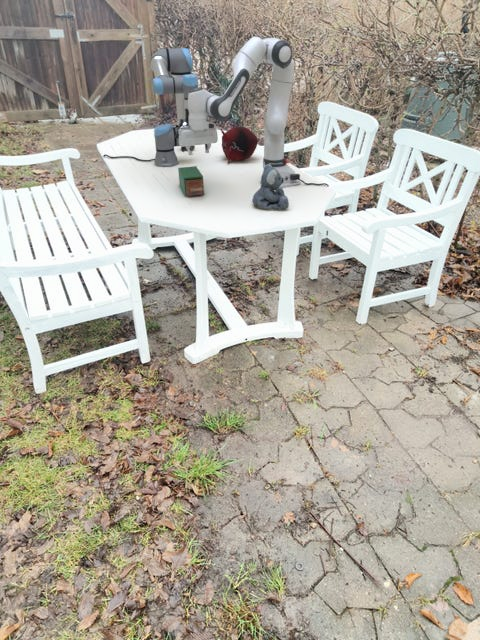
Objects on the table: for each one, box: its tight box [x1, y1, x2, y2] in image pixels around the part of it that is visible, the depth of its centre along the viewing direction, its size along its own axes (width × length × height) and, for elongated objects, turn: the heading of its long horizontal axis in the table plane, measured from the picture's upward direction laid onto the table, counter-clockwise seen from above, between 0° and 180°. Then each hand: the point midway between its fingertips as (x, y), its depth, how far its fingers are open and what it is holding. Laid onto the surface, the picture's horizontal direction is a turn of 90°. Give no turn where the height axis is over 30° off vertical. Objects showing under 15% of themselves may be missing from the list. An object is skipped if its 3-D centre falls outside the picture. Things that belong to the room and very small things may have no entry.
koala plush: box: [251, 164, 290, 211], centre depth 224 cm, size 17×18×20 cm
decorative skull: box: [220, 126, 259, 165], centre depth 296 cm, size 21×24×25 cm
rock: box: [184, 145, 196, 151], centre depth 322 cm, size 12×9×10 cm
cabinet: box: [177, 165, 205, 197], centre depth 248 cm, size 19×10×10 cm, turn 15°
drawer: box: [186, 178, 205, 197], centre depth 243 cm, size 24×9×8 cm, turn 15°
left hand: (194, 150), depth 247 cm, fingers open, 13 cm apart
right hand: (198, 153), depth 229 cm, fingers open, 8 cm apart
